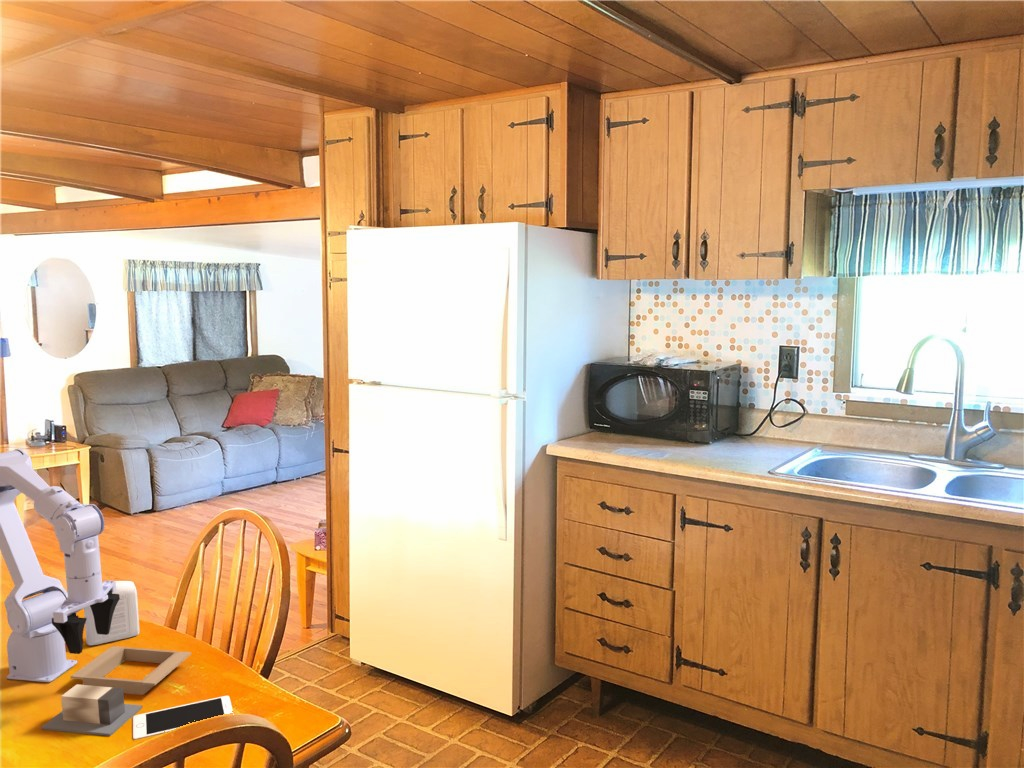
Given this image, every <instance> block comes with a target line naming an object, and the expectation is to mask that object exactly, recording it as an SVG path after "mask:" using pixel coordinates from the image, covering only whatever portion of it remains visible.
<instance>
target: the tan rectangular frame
mask: <svg viewBox="0 0 1024 768" xmlns="http://www.w3.org/2000/svg"><path fill="white" fill-rule="evenodd" d="M191 655H192V651H191V652H190V651H177V650H166V649H153V648H140V647H128V646H117V645H111V647H109V648H108V649H107V650H105V651H103V652H102V653H101V654H99V655H97V657H95V658H94V659H92V660H91V661H89V662H88V663H87V664H85V665H84V666H83V667H81V668H80V669H79V670H77V671H76V672H74V673H73V674H72V675H70V679H73V680H74V679H75V680H82V685H90V686H101V687H113V688H123V694H125V695H127V694H128V695H137V696H144V695H145V694H147V692H149V691H150V690H151V689H152V688H154V687H155V686H156V685H157V684H158V683H160V681H162V680H163V679H164V678H166V676H167V675H169V674H170V673H171V672H172V671H173V670H175V669H176V668H177V667H179V665H180V664H182V663H183V662H184V661H185V660H186V659H187V658H188V657H190V656H191ZM125 661H130V662H143V663H151V664H152V663H153V664H154V663H155V664H159V665H158V666H157V667H156V668H154V669H153V670H152V671H150V673H148V674H147V675H146V676H145V677H144V678H142V679H141V680H139V679H130V678H128V679H127V678H117V677H116V678H115V677H106V676H107V675H108V674H110V673H111V672H112V671H113V670H114V668H115V669H116V668H117V667H118V665H119V666H120V665H122V664H123V662H125ZM105 675H106V676H105Z"/></svg>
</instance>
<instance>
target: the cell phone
mask: <svg viewBox="0 0 1024 768" xmlns="http://www.w3.org/2000/svg"><path fill="white" fill-rule="evenodd" d="M232 711H233V712H232ZM230 713H233V714H234V710H233V707H232V701H231V698H230V696H229V695H223V696H219V697H214V698H209V699H205V700H204V699H203V700H199V701H194V702H191V703H187V704H181V705H176V706H173V707H168V708H167V707H166V708H164V709H160V710H159V709H158V710H154V711H150V712H145V713H139V714H134V715H133V716H132V738H133V740H134V741H135V740H140V739H144V738H148V737H153V736H158V735H162V734H166V733H165V732H167V733H170V732H169V731H171V730H174V729H176V728H179V727H180V726H183V725H186V724H189V723H188V722H190V723H192V722H196V721H200V720H203V719H207V718H211V717H214V716H218V715H223V714H230ZM194 720H195V721H194ZM164 731H165V732H164ZM160 733H161V734H160Z"/></svg>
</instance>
